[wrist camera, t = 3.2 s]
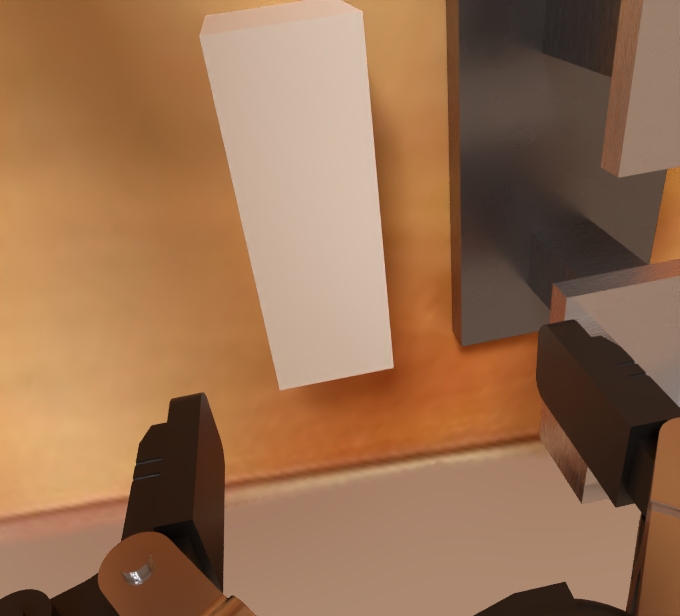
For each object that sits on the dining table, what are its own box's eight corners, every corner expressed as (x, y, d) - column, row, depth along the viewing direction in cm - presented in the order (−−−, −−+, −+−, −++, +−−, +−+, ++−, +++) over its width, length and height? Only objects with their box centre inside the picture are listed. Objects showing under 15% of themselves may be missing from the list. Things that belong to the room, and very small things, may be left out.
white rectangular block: (270, 315, 30) (279, 390, 25) (205, 15, 23) (199, 36, 18) (366, 297, 31) (393, 367, 26) (332, -5, 23) (362, 11, 18)
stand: (452, 330, 32) (561, 517, 22) (443, -114, 22) (649, -164, 11) (624, 296, 33) (809, 461, 23) (699, -150, 22) (1118, -229, 12)
